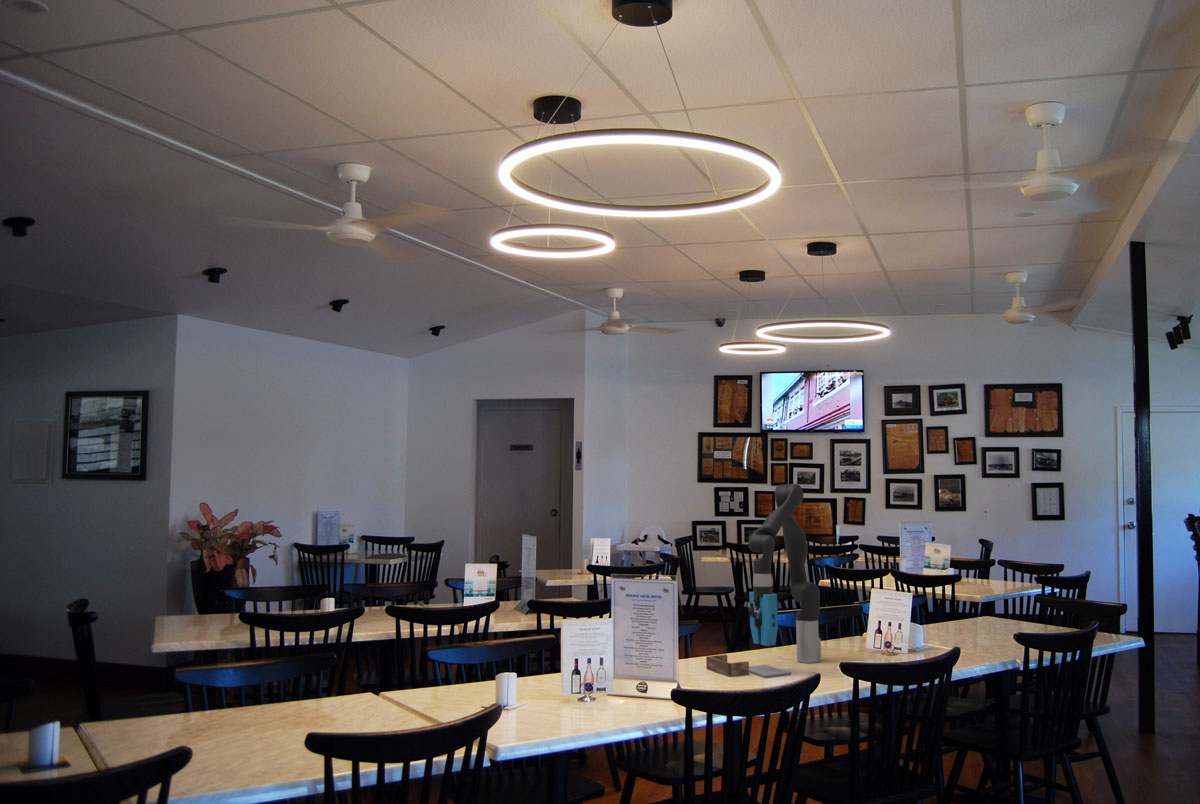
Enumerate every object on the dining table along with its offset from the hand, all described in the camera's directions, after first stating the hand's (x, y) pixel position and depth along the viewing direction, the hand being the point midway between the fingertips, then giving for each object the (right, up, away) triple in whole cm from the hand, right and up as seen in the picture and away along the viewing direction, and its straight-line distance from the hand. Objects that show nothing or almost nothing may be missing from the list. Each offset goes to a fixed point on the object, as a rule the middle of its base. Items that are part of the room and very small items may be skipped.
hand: (763, 627), depth 363 cm
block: (0, -7, -1) cm, 7 cm away
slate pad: (0, -18, -2) cm, 18 cm away
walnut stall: (-14, -18, +1) cm, 23 cm away
